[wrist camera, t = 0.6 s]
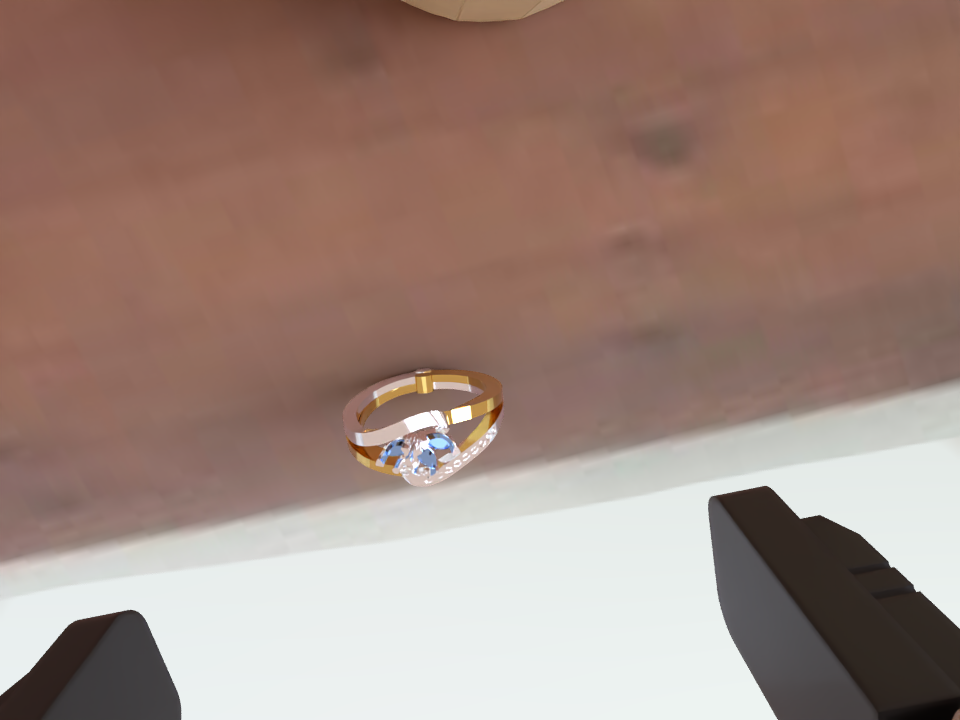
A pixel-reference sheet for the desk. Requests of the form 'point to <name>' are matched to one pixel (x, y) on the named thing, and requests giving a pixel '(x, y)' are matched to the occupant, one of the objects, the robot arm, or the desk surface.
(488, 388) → the ring
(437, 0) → the canister
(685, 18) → the desk surface
